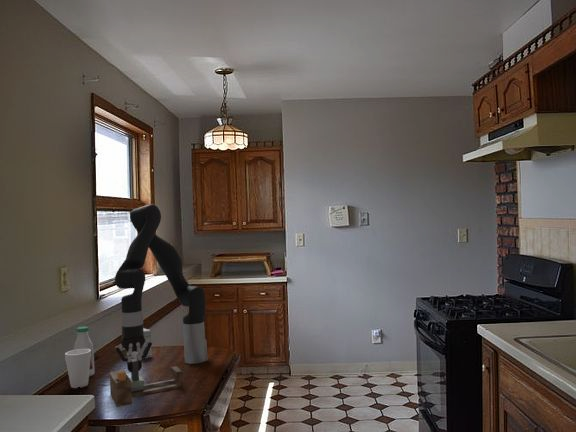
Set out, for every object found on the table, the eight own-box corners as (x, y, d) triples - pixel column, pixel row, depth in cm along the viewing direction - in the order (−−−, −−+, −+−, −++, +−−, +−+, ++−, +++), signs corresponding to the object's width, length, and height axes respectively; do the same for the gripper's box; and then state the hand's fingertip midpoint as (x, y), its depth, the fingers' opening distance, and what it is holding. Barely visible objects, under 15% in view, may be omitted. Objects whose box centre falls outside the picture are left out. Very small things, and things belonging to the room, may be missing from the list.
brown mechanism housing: (176, 381, 195) (176, 361, 195) (187, 392, 182) (186, 370, 182) (110, 394, 184) (109, 372, 184) (116, 406, 171) (115, 383, 171)
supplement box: (130, 357, 235) (129, 330, 235) (145, 354, 240) (143, 327, 240) (137, 360, 230) (136, 332, 230) (152, 356, 235) (151, 329, 235)
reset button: (125, 383, 176) (124, 370, 176) (126, 385, 174) (125, 372, 174) (118, 384, 175) (117, 371, 175) (119, 386, 173) (118, 373, 173)
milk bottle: (78, 373, 213) (76, 326, 214) (96, 372, 214) (94, 324, 214) (71, 379, 206) (69, 329, 206) (91, 377, 206) (89, 328, 207)
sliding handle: (140, 385, 189) (139, 356, 189) (144, 390, 182) (143, 361, 182) (126, 388, 186) (125, 359, 186) (130, 393, 180) (128, 363, 180)
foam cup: (76, 390, 190) (74, 356, 191) (61, 387, 195) (59, 353, 196) (97, 383, 199) (96, 350, 199) (82, 380, 203) (81, 347, 204)
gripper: (149, 319, 191) (151, 365, 191) (111, 324, 185) (113, 372, 185) (153, 322, 184) (156, 370, 184) (114, 328, 178) (116, 377, 178)
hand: (134, 370), depth 184 cm, fingers closed
